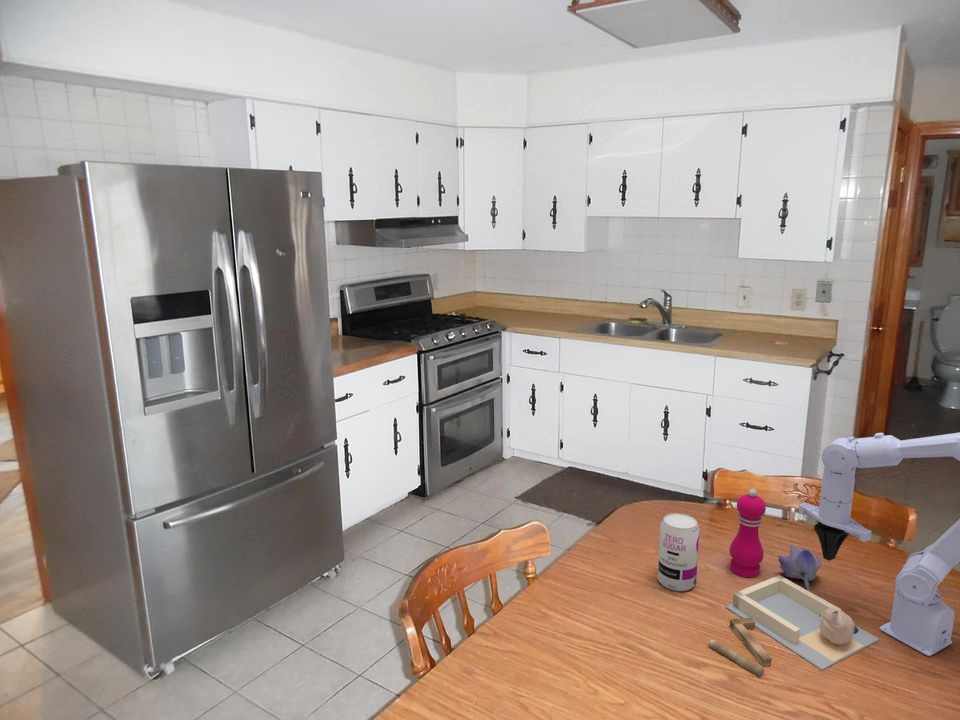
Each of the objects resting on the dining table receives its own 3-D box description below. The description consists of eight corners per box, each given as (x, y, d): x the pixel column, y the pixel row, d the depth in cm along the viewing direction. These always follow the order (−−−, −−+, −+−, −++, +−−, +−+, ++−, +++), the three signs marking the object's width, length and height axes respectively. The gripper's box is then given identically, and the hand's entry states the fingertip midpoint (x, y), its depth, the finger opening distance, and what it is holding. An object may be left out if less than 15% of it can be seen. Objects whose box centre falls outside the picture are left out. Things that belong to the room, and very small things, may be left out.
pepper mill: (764, 580, 150) (773, 498, 145) (729, 576, 152) (737, 494, 147) (759, 563, 157) (767, 484, 152) (726, 559, 159) (733, 481, 154)
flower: (835, 572, 141) (810, 534, 149) (798, 586, 142) (774, 548, 150) (837, 591, 147) (812, 553, 154) (800, 604, 148) (777, 567, 155)
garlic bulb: (808, 633, 131) (812, 597, 129) (832, 625, 134) (837, 589, 132) (837, 654, 125) (842, 616, 123) (862, 645, 128) (867, 608, 126)
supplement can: (691, 573, 153) (695, 512, 150) (699, 593, 146) (703, 530, 142) (655, 571, 154) (658, 511, 151) (660, 592, 146) (664, 529, 143)
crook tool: (785, 664, 124) (785, 656, 123) (762, 667, 123) (763, 659, 123) (750, 624, 135) (750, 617, 135) (729, 626, 135) (730, 619, 134)
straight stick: (763, 675, 121) (764, 667, 121) (758, 678, 120) (760, 669, 120) (711, 644, 130) (712, 637, 129) (706, 646, 129) (707, 639, 128)
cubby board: (879, 640, 130) (881, 626, 129) (821, 670, 122) (823, 655, 121) (780, 584, 148) (781, 572, 148) (725, 607, 141) (726, 594, 140)
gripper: (884, 506, 132) (875, 569, 135) (816, 480, 144) (810, 538, 147) (861, 515, 128) (853, 579, 132) (794, 487, 141) (788, 546, 144)
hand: (829, 558), depth 139 cm, fingers closed
